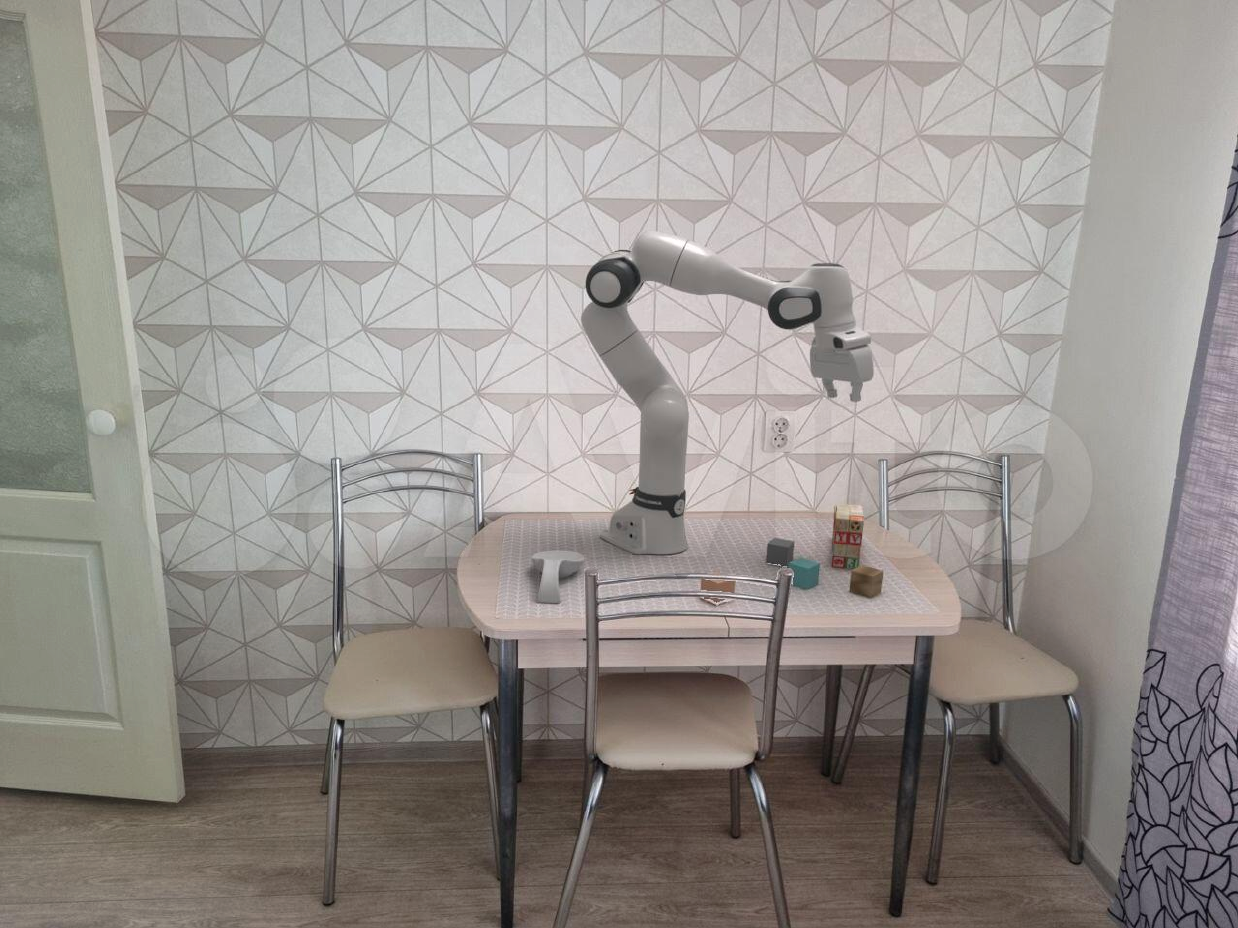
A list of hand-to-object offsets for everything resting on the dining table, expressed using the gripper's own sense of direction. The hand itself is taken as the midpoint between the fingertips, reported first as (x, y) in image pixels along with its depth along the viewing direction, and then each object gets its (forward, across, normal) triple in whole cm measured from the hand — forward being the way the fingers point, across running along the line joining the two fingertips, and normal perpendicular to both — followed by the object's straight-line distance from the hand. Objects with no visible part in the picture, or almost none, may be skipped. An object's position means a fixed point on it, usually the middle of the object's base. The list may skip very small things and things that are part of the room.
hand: (843, 399), depth 198 cm
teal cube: (+38, +4, -18) cm, 42 cm away
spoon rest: (+27, -10, -70) cm, 75 cm away
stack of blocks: (+40, -12, +2) cm, 42 cm away
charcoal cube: (+37, -10, -16) cm, 41 cm away
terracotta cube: (+34, +7, -40) cm, 53 cm away
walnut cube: (+40, +11, -7) cm, 42 cm away
